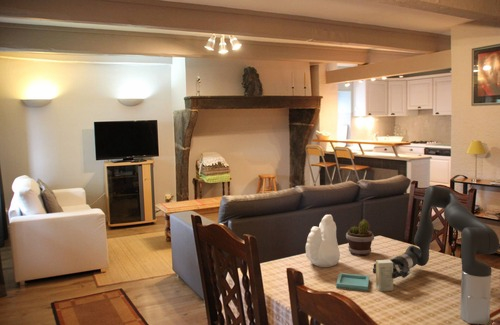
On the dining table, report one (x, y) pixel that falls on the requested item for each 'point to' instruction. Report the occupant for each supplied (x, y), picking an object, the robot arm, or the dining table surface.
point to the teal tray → (353, 282)
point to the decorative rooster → (323, 243)
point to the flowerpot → (360, 239)
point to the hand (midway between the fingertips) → (383, 273)
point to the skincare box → (384, 275)
